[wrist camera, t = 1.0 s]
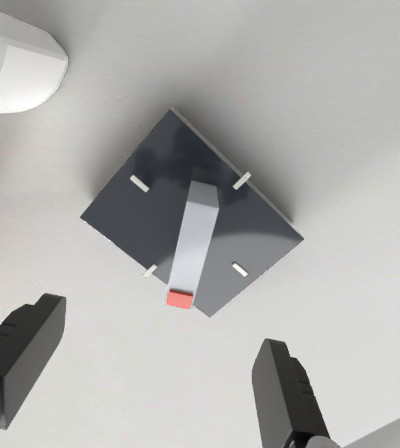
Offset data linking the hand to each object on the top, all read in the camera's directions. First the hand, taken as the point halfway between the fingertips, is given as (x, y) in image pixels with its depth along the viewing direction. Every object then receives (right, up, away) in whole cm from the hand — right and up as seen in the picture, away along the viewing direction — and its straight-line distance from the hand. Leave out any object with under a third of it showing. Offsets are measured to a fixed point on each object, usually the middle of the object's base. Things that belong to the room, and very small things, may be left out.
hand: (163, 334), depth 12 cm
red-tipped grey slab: (+1, +4, +10) cm, 10 cm away
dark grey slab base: (+1, +5, +12) cm, 14 cm away
